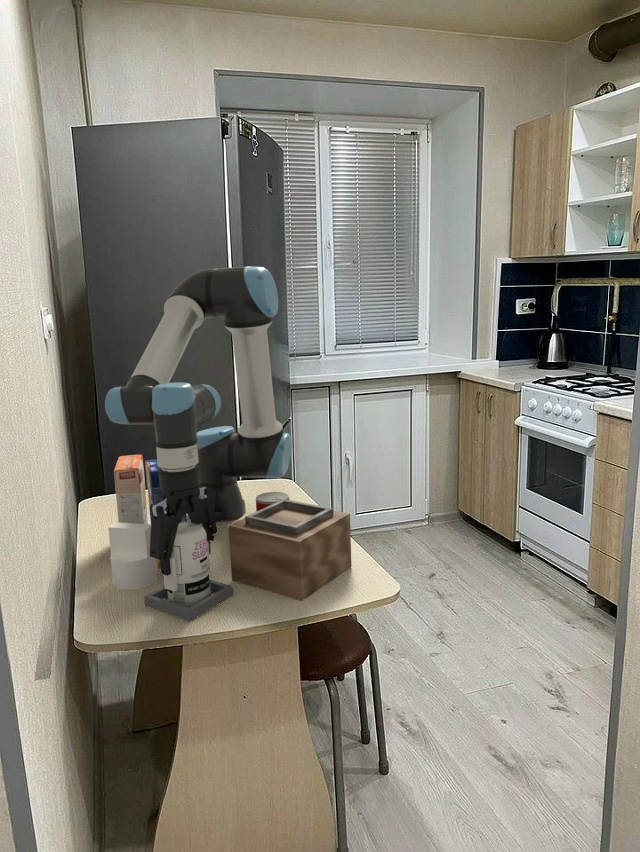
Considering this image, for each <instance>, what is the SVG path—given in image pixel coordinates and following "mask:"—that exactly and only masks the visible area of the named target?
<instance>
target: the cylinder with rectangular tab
mask: <svg viewBox="0 0 640 852" xmlns="http://www.w3.org/2000/svg"><path fill="white" fill-rule="evenodd" d="M107 529H108V537H109V538H108V539H109V547H110V549H109V550H110V566H111V574H112V583H113V586H114V587H115V588H117V589H120V590H125V589H126V590H129V589H130V590H138V588H139V589H142V588H145V586H146V587H148V586H151V585H152V584H154V583H155V582H156V581H157V580H158V578H159V577H158V569H157V568H158V565H157V562H156V558H153V557H150V535H151V524H149V523H148V524H135V523H120V522H119V521H118V522H114V523H112V524H109V526H108V527H107Z"/></svg>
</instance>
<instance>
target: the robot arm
mask: <svg viewBox="0 0 640 852" xmlns="http://www.w3.org/2000/svg"><path fill="white" fill-rule="evenodd" d="M278 293H279V292H278V289H277V285H276V282H275V279H274V276H273V275H272V274H271V272H270V271H269V270H268V269H267V268H265V267H262V266H234V267H221V268H211V267H210V268H205V269H200V270H197V271H196V272H194V273H192V274H190V275H189V276H187V277H186V278H185V279H183V280H182V281H181V282H180V283H178V285H177V286H175V288H174V289H173V290H172V291H171V292H170V294H169V296H168V297H167V298H166V301H164V304H163V305H164V306H163V313H164V314H163V316H162V317H161V320H160V322H159V324H158V325H157V328H156V329H155V331H154V333H153V335H152V337H151V339H150V340H149V342H148V344H147V346H146V348H145V350H144V352H143V354H142V355H141V358H140V359H139V361H138V363H137V365H136V367H135V369H134V371H133V372H132V375H131V377H130V378H129V380H128V381H127V384H126V385H125V386H121V385H120V386H117V387H116V386H115V387H113V388H111V389H109V390H108V392H107V394H106V396H105V400H104V408H105V412H106V415H107V416H108V419H109V420H110V421H111V422H113V423H114V424H119V425H128V426H129V425H130V426H133V425H153V426H154V433H155V447H156V449H155V450H156V459H157V462H158V467H160V470H159V471H158V472H159V483H160V488H161V490H162V492H163V497H162V502H160V503H158V504H157V505H154V504H151V505H150V507H149V508H148V509H149V514H150V513H151V520H150V525H151V535H150V557H153V558H156V559H160V569H161V570H160V573H161V575H163V583H164V586H165V589H168V590H172V591H177V590H178V587H177V575H176V564H175V557H171V555H172V550H173V546H174V541H175V537H176V533H177V529H178V524H179V523H180V522H181V520H182V517H183V516H184V515H186V514H187V517H188V519H189V521H191V522H192V523H196V524H199V525H200V524H202V527H203V528H204V529H205V531H206V535H207V548H208V561H209V574H211V570H212V569H211V559H210V555H211V553H212V549H211V547H212V546H211V542H213V541H214V540H215V535H217V534H218V530H219V529H218V525H217V523H218V522H219V523H220V522H228V521H230V520H234V519H238V518H240V517H241V516H243V515H245V513H246V501H245V500H244V498H243V495H242V492H241V490H240V488H239V484H238V478H257V479H258V478H260V479H261V478H262V479H267V480H268V479H270V478H271V479H274V478H282V477H284V476H285V474H286V472H287V471H288V469H289V465H290V462H291V461H290V460H291V456H292V447H293V446H292V445H293V444H292V443H293V441H292V436H291V434H290V433H288V432H284V430H283V429H284V428H283V424H282V423H281V422H280V421H278V420H277V418H276V417H277V416H276V408H275V406H276V405H275V398H274V397H275V396H274V387H273V380H272V378H273V377H272V368H271V358H270V357H271V356H270V349H269V339H268V328H269V327H270V326H271V325H272V323H273V317H274V316H276V315H277V314H278V311H279V295H278ZM212 318H215V319H217V318H218V319H221V318H222V319H223V325H224V328H225V329H227V330H228V331H229V332H230V333H231V338H232V347H233V356H234V362H235V370H236V371H235V372H236V379H237V388H238V396H239V403H240V411H241V422H242V423H241V425H240V426H239V427H238V428H237V432H235V431H236V430H235V428H234V427H233V426H229V425H224V426H217V427H211V428H207V429H203V430H199V431H197V428H198V427H199V426H201V425H202V424H206V423H207V422H210V421H212V420H213V419H214V418H215V417H216V416H217V415H218V414H219V412H220V411H221V407H222V400H221V396H220V394H219V392H218V391H217V390H216V389H215V387H213V386H211V385H209V384H205V383H204V384H203V383H202V384H194V385H192V384H191V383H188V382H183V381H182V382H181V381H180V382H179V381H178V382H171V379H172V377H173V376H174V374H175V371H176V369H177V367H178V365H179V363H180V360H181V359H182V356H183V354H184V352H185V350H186V348H187V346H188V344H189V342H190V340H191V338H192V335H193V333H194V331H195V329H198V328H199V327H201V326H202V324H203V322H204V321H205V320H207V319H212ZM165 508H166V510H165ZM171 515H173V516H176V517H175V518H174V517H171ZM164 551H166V552H164Z"/></svg>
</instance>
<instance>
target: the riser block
mask: <svg viewBox="0 0 640 852" xmlns="http://www.w3.org/2000/svg"><path fill="white" fill-rule="evenodd" d="M227 529H228V546H229V557H230V558H229V559H230V572H231V573H230V575H231V581H232V582H236V583H238V584H239V583H240V584H243V585H246V586H249V587H253V588H256V589H260V590H264V591H267V592H270V593H274V594H277V595H282V596H283V597H288V598H290V599H291V598H292V599H296V600H298V601H304V600H306V599H307V598H309V597H310V596H311V595H313V594H314V593H316V592H317V591H319V590H320V589H322V588H323V587H324V586H326V585H327V584H329V583H330V582H332V581H333V580H334V579H335V580H336V578H338V577H339V576H340V575H342V574H343V573H345V572H347V570H349V569H351V568H352V566H353V565H352V543H351V542H352V541H351V539H352V536H351V513H349V512H343V511H339V510H334V508H333V507H328V506H322V505H318V504H311V503H307V502H300V501H295V500H292V499H291V500H290V499H289V500H286V499H283V500H281V501H279V502H277V503H274V504H272V505H270V506H268V507H266V508H263V509H261V510H259V511H257V512H256V511H254V512H252V513H250V514H248V515H246V516H245V517H243V518H241V519H239V520H236V521H235V522H233V523H230V524H229V525H227Z"/></svg>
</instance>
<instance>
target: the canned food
mask: <svg viewBox="0 0 640 852" xmlns="http://www.w3.org/2000/svg"><path fill="white" fill-rule="evenodd" d="M283 499H286V500H290V495H289V494H288V493H286V492H280V491H269V492H263V493H260V494H258V495H257V496H256V497H255V508H256V510H255V512H257V511H259V510H261V509H263V508H266V507H268V506H270V505H272V504H274V503H277V502H279V501H281V500H283Z"/></svg>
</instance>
